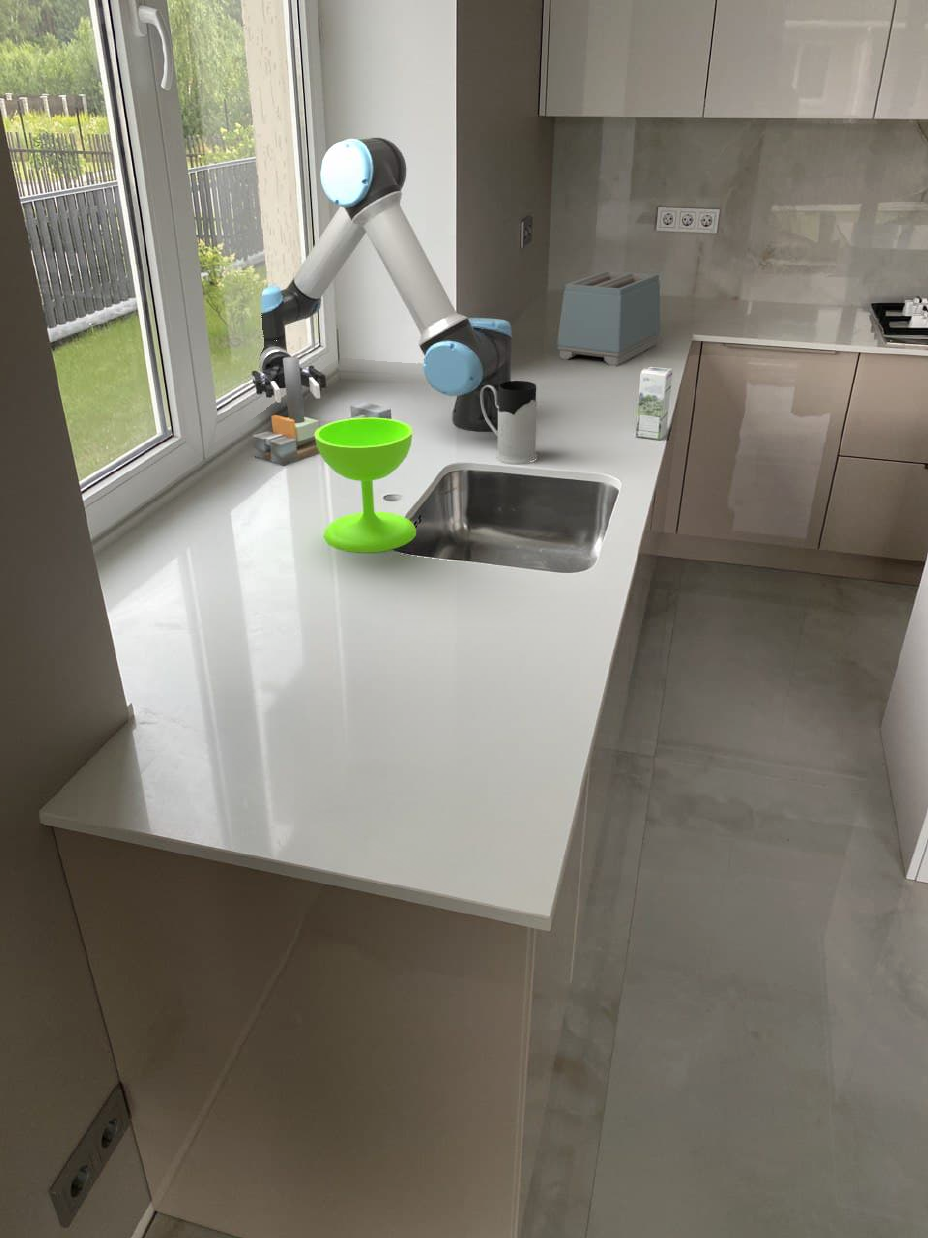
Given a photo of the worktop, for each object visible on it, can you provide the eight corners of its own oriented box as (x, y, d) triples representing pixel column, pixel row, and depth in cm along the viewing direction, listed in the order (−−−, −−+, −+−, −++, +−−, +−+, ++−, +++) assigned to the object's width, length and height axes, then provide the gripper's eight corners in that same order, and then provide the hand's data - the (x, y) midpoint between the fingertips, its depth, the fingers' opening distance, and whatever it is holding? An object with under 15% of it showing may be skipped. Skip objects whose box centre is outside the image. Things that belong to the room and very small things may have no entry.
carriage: (320, 434, 201) (313, 358, 193) (298, 441, 197) (290, 363, 189) (298, 428, 205) (290, 353, 197) (276, 435, 201) (268, 358, 193)
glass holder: (519, 467, 192) (520, 393, 184) (467, 452, 200) (466, 381, 193) (546, 456, 197) (548, 384, 190) (494, 442, 206) (494, 373, 198)
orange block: (296, 441, 197) (294, 419, 195) (277, 447, 193) (274, 425, 191) (277, 435, 200) (275, 414, 198) (258, 441, 197) (255, 420, 195)
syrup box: (667, 433, 210) (673, 367, 203) (660, 441, 205) (666, 374, 198) (642, 430, 212) (647, 365, 205) (634, 437, 207) (639, 371, 200)
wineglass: (312, 524, 167) (303, 424, 158) (398, 509, 173) (393, 412, 164) (338, 559, 154) (330, 453, 146) (430, 542, 160) (427, 439, 151)
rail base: (391, 428, 215) (390, 408, 213) (282, 465, 194) (280, 444, 192) (364, 420, 220) (362, 401, 218) (254, 456, 199) (252, 435, 197)
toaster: (663, 342, 287) (670, 271, 278) (617, 367, 262) (623, 290, 252) (605, 336, 296) (610, 267, 286) (555, 359, 270) (558, 284, 261)
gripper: (324, 380, 215) (348, 406, 196) (234, 389, 210) (250, 417, 191) (322, 346, 212) (345, 370, 193) (230, 354, 206) (245, 380, 187)
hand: (298, 393), depth 192 cm, fingers open, 7 cm apart
